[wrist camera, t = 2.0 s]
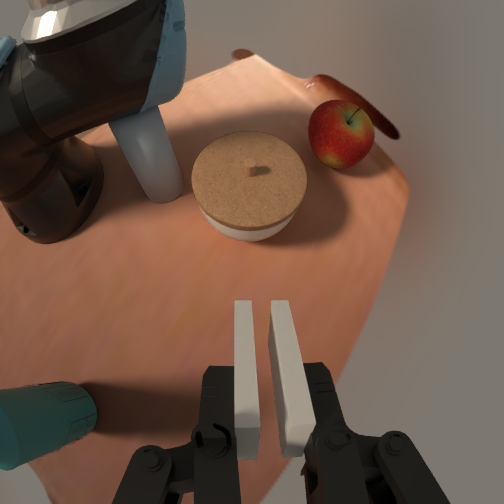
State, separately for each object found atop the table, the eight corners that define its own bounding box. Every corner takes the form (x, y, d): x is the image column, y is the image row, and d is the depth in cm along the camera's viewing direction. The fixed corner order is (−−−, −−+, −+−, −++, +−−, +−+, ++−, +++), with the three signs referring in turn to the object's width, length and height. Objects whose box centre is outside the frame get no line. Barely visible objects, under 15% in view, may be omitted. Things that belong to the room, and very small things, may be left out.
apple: (335, 126, 39) (355, 76, 29) (369, 168, 37) (400, 121, 27) (289, 142, 37) (303, 87, 28) (324, 189, 35) (350, 138, 26)
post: (142, 181, 35) (106, 111, 24) (178, 165, 36) (152, 91, 25) (151, 210, 33) (110, 137, 22) (189, 193, 34) (161, 114, 23)
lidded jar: (283, 168, 36) (296, 116, 27) (302, 248, 32) (325, 211, 23) (197, 177, 35) (186, 125, 26) (204, 261, 31) (192, 226, 22)
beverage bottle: (82, 369, 27) (-59, 368, 8) (116, 418, 25) (-10, 475, 6) (50, 395, 25) (-81, 406, 6) (81, 442, 24) (-38, 493, 5)
